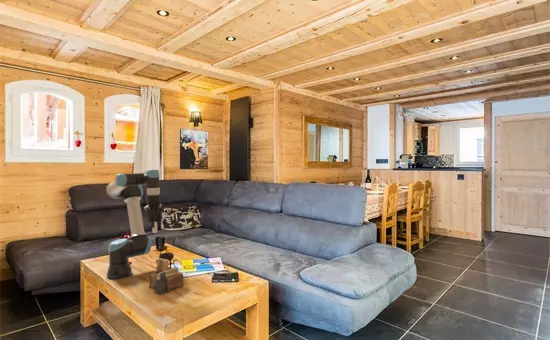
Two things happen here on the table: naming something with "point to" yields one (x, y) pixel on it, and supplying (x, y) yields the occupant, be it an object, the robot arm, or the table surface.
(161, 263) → the lid
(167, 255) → the music box
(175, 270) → the wooden stick
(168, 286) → the toolbox
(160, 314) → the table surface
